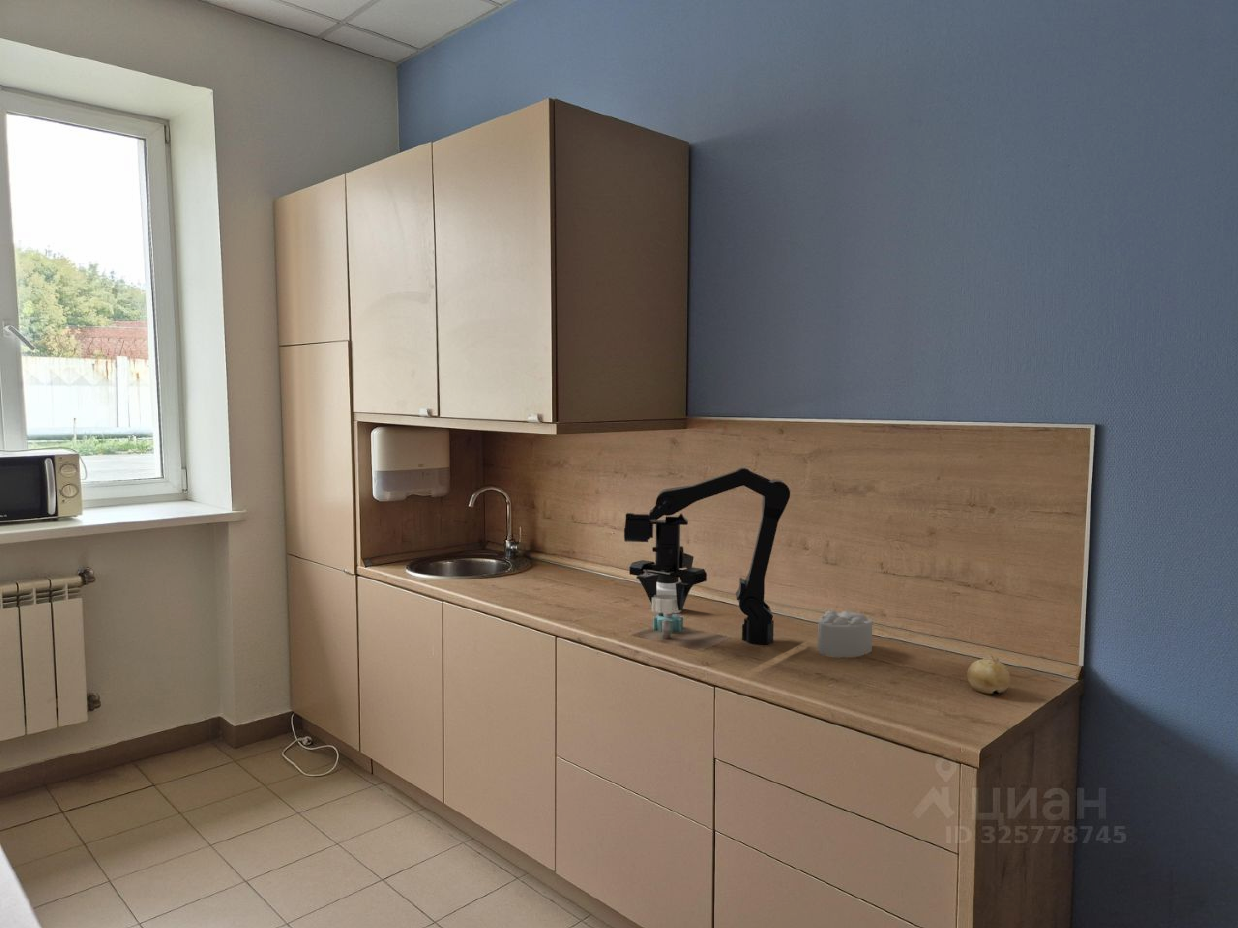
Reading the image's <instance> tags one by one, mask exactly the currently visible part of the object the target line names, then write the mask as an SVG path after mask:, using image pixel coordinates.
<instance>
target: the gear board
mask: <svg viewBox="0 0 1238 928" xmlns="http://www.w3.org/2000/svg"><path fill="white" fill-rule="evenodd" d="M663 614H664V617H665V618H672V614H673V613H672V614H668V613H663ZM670 628H671V621H668V620H664V621H662V632H658V630H654V629H653V626H652V627H649V628H647V629H644V630H641V631H639V632H636V633H632V634H630V636H631V637H636V638H640V639H645V640H650V641H654V642H659V643H662V644H667V645H672V646H678V647H683V648H686V649H691V650H695V651H701V652H702V651H704V650H707V649H709V648H711V647H713V646H716V645H719V644H721V643H723V642H725V641H727V640H730V639H732V636H727V635H722V634H717V633H711V632H709V631H707V632H706V631H704V630H703V631H702V630H697V629H692V628H688V627H687V628H686V627H683V629H681V632H673V633H670Z"/></svg>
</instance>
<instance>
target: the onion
mask: <svg viewBox="0 0 1238 928" xmlns="http://www.w3.org/2000/svg"><path fill="white" fill-rule="evenodd" d="M999 660H1000V658H999V657H998V656H993V654H992V653H991V654H990V658H982V659H977V660H976V661H973V662H972V663H971V664H970V666H969V667H968V669H967V672H966V676H967V680H968V683H969V685H970V686H971V688H972V689H973V690H975V691H976V692H978V693H981V694H985V695H986V694H987V695H994V693H995V692H996V693H998V694H1001V693H1004V692H1005V691H1006V690H1007V689H1008V687H1009V686H1010V682H1011V675H1010V673H1009V670H1008V668H1007V667H1006V666H1005V665H1004V664H1003V663H1002V662H1000V661H999Z"/></svg>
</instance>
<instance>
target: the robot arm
mask: <svg viewBox="0 0 1238 928" xmlns="http://www.w3.org/2000/svg"><path fill="white" fill-rule="evenodd" d="M739 487H746V488H748V489H750V491H753V492H755V493H757V494H759V495H760V496H762V503H761V505H762V507H761V511H762V512H761V521H760V524H759V528H758V532H757V537H756V542H755V545H754V550H753V554H752V559H751V563H750V566H749V570H748V573H747V575H746V577H745V579H744V578H742V577H739V581H738V588H737V590H736V592H735V597H736V600H737V601H738V607H739V609H740V610H739V611H741V612H742V613H743V615H746V616H747V617H745V618H743V623H742V624H741V625H742V626H741V641H744V642H746V643H747V644H750V645H753V646H754V645H756V646H768V645H771V644H773V643H774V625H775V624H774V623H775V620H773V618H774V617H773V612H772V610H771V607H770V606H769V605H768V604H767V603H766V602H765V593H766V592H765V587H766V585H765V582H766V581H765V580H766V575H767V571H768V565H769V563H770V558H771V554H772V549H773V545H774V540H775V537H776V533H777V529H778V524H779V521H780V519H781V517H782V515H783V514H784V512H785V510H786V507H787V505H788V503H789V500H790V498H791V490H790V488H789V486H788V485H787V484H786V483H785V482H783V480H781V479H777V478H776V479H775V478H774V479H769V478H766V477H765V476H764V475H763V476H762V475H760V474H758V473H755V472H753V471H752V470H750V469H749V468H747V467H739V468H737V469H736V470H733V471H731V472H727V473H723V474H721V475H719V476H716V477H713V478H710V479H707V480H704V481H701V482H698V483H696V484H692V485H686V486H685V485H684V486H677V487H671V488H665V489H663V490H661V491H660V492H659V493H658V495H657V497H656V499H655V505H654V507H653V508H652V509H650V510H649V513H634V512H627V513H626V514H625V522H624V528H623V538H624V539H623V540H624V542H626V543H627V542H628V543H631V542H632V543H649V540H650V539H654V525H655V546H653V547H652V552H653V553H655V561H652V560H644V559H643V560H636V561H633V562H631V563H630V565H629V569H628V570H629V571H628V573H629V575H630V576H631V575H633V576H636V577H635V578H636V580H639V582H640V584H641V585H642V587H643V590H644V591H645V593H646V596H647V597H648V600H649V602H650V604H651V605H652V597H654V595H656V583H657V580H658V577H659V575H666V576H672V577H678V578H679V580H680V582H679V581H678V583H676V594H677V606H678V610H681V611H682V610H683V608H684V606H685V604H686V600H687V598H688V595H689V592H690V590H691V589H692V587H694V585H697V584H701V583H704V582H707V581H708V578H707V577H708V573H707V571H706V570H705V568H699V567H693V564H694V563H693V562H694V558H695V556H693V555H691V554H689V553H685V552H684V545H683V546H681V525H685V526H686V525H688V524H689V523H688V522H689V519H687V518H686V517H685V516H684V514H683V513H680V514H679V515H678V516H674V515H675V514H676V513H679V512H680V511H682V510H684V509H686V508H687V507H689V506H691V505H692V504H694V503H696V502H698V501H701V500H703V499H704V500H705V499H707V498H710V497H713V496H715V495H719V494H722V493H725V492H727V491H731V490H733V489H737V488H739ZM664 516H665V519H660V518H662V517H664ZM661 570H663V571H661ZM670 572H674V573H670Z"/></svg>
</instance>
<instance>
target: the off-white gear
mask: <svg viewBox="0 0 1238 928" xmlns="http://www.w3.org/2000/svg"><path fill="white" fill-rule="evenodd" d="M652 611H657V612H656V613H658V614H659V613H663V614H664V613H668V614H676V613H675V612H678V613H677V614H679V613H681V612H682V610H678V606H677V595H666V594H662V595H654V597H652V604H651V612H652Z"/></svg>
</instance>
